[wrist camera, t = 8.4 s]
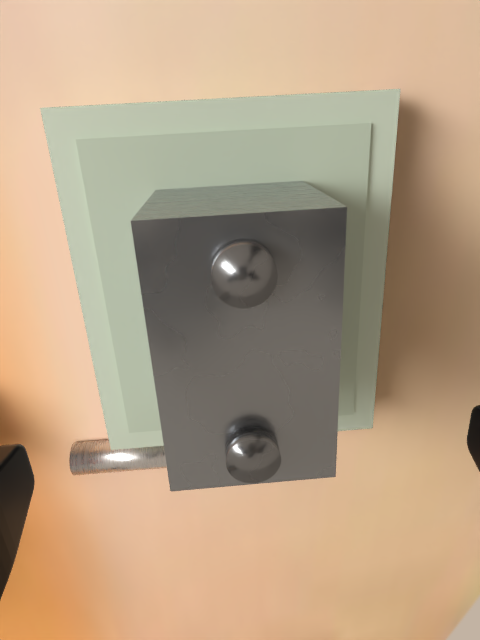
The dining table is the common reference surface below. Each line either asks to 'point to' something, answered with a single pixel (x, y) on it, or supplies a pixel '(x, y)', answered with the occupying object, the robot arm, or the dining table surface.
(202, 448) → the block
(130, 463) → the steel pin
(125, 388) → the pale green flat slab
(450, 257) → the dining table surface
